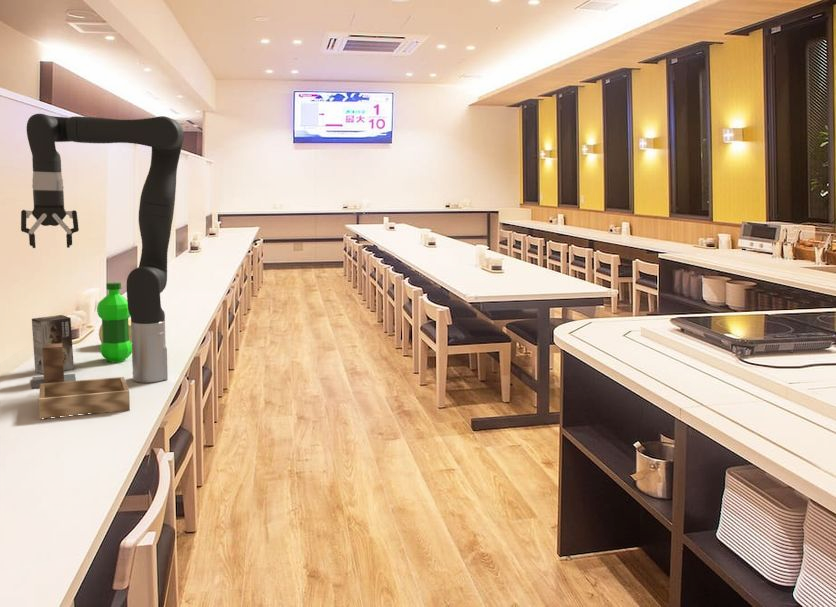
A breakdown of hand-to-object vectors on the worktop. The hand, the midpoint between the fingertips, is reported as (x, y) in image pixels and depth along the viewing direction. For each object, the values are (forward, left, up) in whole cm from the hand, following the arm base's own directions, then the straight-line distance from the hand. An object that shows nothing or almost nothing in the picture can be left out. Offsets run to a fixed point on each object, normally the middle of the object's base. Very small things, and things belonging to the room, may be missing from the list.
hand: (51, 247), depth 200 cm
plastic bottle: (-17, -20, -38) cm, 46 cm away
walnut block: (+1, +2, -38) cm, 38 cm away
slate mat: (+1, +2, -38) cm, 38 cm away
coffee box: (+1, -13, -38) cm, 40 cm away
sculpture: (-19, -42, -38) cm, 60 cm away
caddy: (-6, +30, -38) cm, 49 cm away
